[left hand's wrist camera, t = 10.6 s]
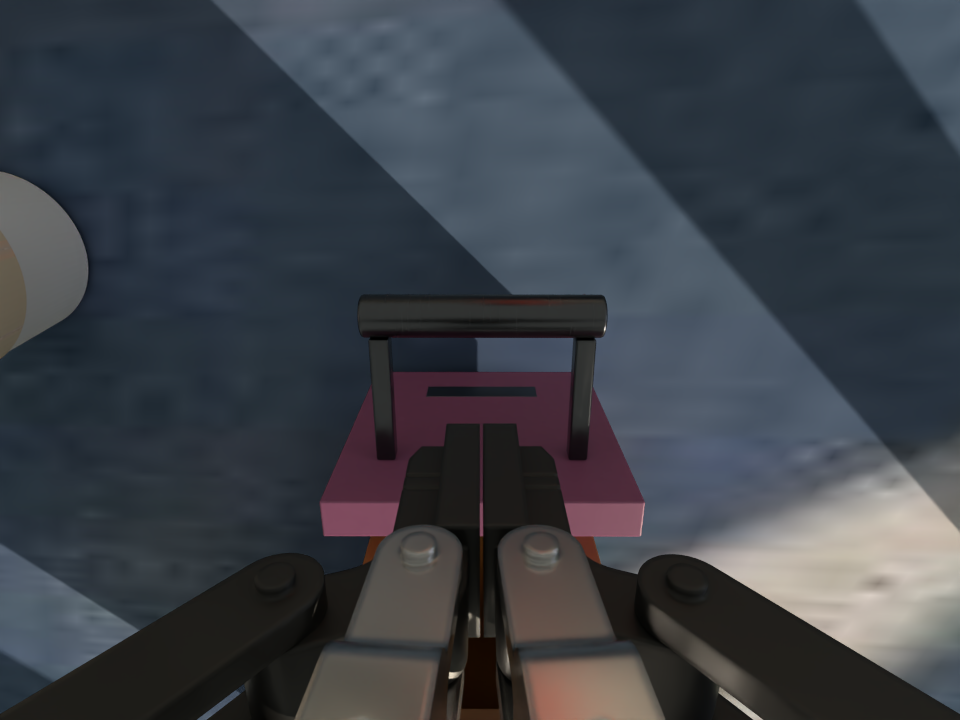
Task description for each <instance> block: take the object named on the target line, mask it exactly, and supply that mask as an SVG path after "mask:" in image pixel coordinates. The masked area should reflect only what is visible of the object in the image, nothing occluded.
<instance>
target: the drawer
mask: <svg viewBox="0 0 960 720" xmlns="http://www.w3.org/2000/svg"><path fill="white" fill-rule="evenodd" d="M607 315H608V314H607V303H606V299H605V297H604V296H603V295H383V294H364V295H361V296H360V299H359V302H358V311H357V318H358V328H359V332H360V335H361V336H362V337H364V338H370V339H369V341H368V343H369V357H370V371H371V386H370V388H369V391H368V393H367V395H366V397H365V400H364V402H363V404H362V407H361V409H360V411H359V413H358V416H357V418H356V420H355V422H354V425H353V427H352V429H351V432H350V434H349V436H348V438H347V441H346V443H345V445H344V448H343V450H342V452H341V454H340V457H339V459H338V461H337V463H336V466H335V468H334V470H333V473H332V475H331V477H330V479H329V482H328V484H327V486H326V489H325V491H324V493H323V495H322V498H321V500H320V511H321V519H322V528H323V535H324V536H370V539H369V543H368V547H367V550H366V554H365V558H364V561H363V564H365V563H367V562H369V561H371V560H373V557H374V555H375V552H376V549H377V547H378V545H379V544H380V542H381V541H382V540H383V539H384V538H385V537H386V536H388V535H389V534H391V533H392V532H393V529H394V525H395V520H396V515H397V511H398V506H399V502H400V497H401V493H402V490H403V484H404V479H405V477H406V470H407V465H408V461H409V458H410V457H411V456H412V455H413V454H414V453H415V452H416V451H417V450H418V449H419V448H420V447H421V446H444V441H445V432H446V424H447V423H480V638H468V658H467V663H466V666H465V668H464V686H463V695H462V704H461V709H499V704H498V695H497V686H496V637H484V603H483V423H516V424H517V432H518V440H519V446H542V447H543V448H544V449H545V450H546V451H547V452H548V453H549V454H550V455H551V456H552V457H553V458H554V461H555V465H556V469H557V474H558V478H559V482H560V489H561V491H562V495H563V500H564V504H565V508H566V513H567V517H568V522H569V526H570V530H571V535H572V536H574V537H575V538H576V539H577V540H578V541H579V542H580V544H581V545H582V547H583V549H584V552H585V555H586V556H587V557H589V558H590V559H592V560H593V561H595V562H597V563H599V564H601V562H600V559H599V555H598V552H597V548H596V545H595V541H594V538H593V536H641V531H642V523H643V514H644V506H645V502H644V499H643V497H642V495H641V493H640V490H639V488H638V486H637V484H636V482H635V479H634V477H633V475H632V473H631V470H630V468H629V466H628V464H627V462H626V459H625V457H624V455H623V453H622V450H621V448H620V446H619V444H618V442H617V439H616V437H615V435H614V433H613V430H612V428H611V426H610V424H609V422H608V419H607V417H606V415H605V413H604V411H603V408H602V406H601V404H600V402H599V399H598V397H597V395H596V393H595V391H594V388H593V377H594V364H595V351H596V340H595V338H601V337H603V336H604V334H605V332H606V327H607ZM391 338H573V354H572V369H571V372H393V362H392V344H391Z"/></svg>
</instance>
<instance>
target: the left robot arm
mask: <svg viewBox="0 0 960 720" xmlns="http://www.w3.org/2000/svg"><path fill="white" fill-rule="evenodd" d="M483 603H484V637H496V686H497V695H498V704H499V713H500V720H753V719H751V718H750V717H749V716H748V715H746V714H745V713H744V712H742V711H741V710H740V709H738V708H737V707H736V706H735V705H733V704H732V703H731V702H729V701H728V700H727V699H725V698H724V697H723V696H722V695H720V694H719V693H718V692H719V687H721V688H722V689H724V690H725V691H726V692H728V693H729V694H730V695H732V696H733V697H734V698H736V699H737V700H738V701H740V702H741V703H742V704H743V705H745V706H746V707H747V708H749V709H750V710H751V711H753V712H754V713H755V714H757V715H758V716H759V717H761V718H762V719H763V720H960V714H959V713H957V712H955V711H954V710H952V709H950V708H949V707H947V706H945V705H944V704H942V703H940V702H939V701H937V700H935V699H934V698H932V697H930V696H929V695H927V694H925V693H924V692H922V691H920V690H919V689H917V688H915V687H914V686H912V685H910V684H909V683H907V682H905V681H904V680H902V679H900V678H899V677H897V676H895V675H894V674H892V673H890V672H889V671H887V670H885V669H884V668H882V667H880V666H879V665H877V664H875V663H874V662H872V661H870V660H869V659H867V658H865V657H864V656H862V655H860V654H859V653H857V652H855V651H854V650H852V649H850V648H849V647H847V646H845V645H844V644H842V643H840V642H838V641H837V640H835V639H833V638H832V637H830V636H828V635H827V634H825V633H823V632H822V631H820V630H818V629H817V628H815V627H813V626H812V625H810V624H808V623H807V622H805V621H803V620H802V619H800V618H798V617H797V616H795V615H793V614H792V613H790V612H788V611H787V610H785V609H783V608H782V607H780V606H778V605H777V604H775V603H773V602H772V601H770V600H768V599H767V598H765V597H763V596H762V595H760V594H758V593H757V592H755V591H753V590H752V589H750V588H748V587H747V586H745V585H743V584H742V583H740V582H738V581H737V580H735V579H733V578H732V577H730V576H728V575H727V574H725V573H723V572H722V571H720V570H718V569H717V568H715V567H713V566H712V565H710V564H708V563H706V562H704V561H701V560H699V559H696V558H693V557H689V556H684V555H675V554H668V555H660V556H656V557H653V558H651V559H649V560H648V561H646V562H645V563H644V564H643V565H642V566H641V568H640V570H639V572H638V574H634V573H630V572H625V571H621V570H617V569H613V568H610V567H607V566H604V565H602V564H599V563H597V562H595V561H593V560H592V559H590V558H589V557H587V556H586V555H585V552H584V549H583V547H582V545H581V544H580V542H579V541H578V540H577V539H576V538H575V537H574V536H572V535H571V530H570V526H569V522H568V517H567V513H566V508H565V504H564V500H563V495H562V491H561V489H560V482H559V478H558V474H557V469H556V465H555V461H554V458H553V457H552V456H551V455H550V454H549V453H548V452H547V451H546V450H545V449H544V448H543V447H542V446H519V440H518V432H517V424H516V423H483ZM468 638H480V423H447V424H446V432H445V441H444V446H421V447H420V448H419V449H418V450H417V451H416V452H415V453H414V454H413V455H412V456H411V457H410V458H409V461H408V465H407V470H406V477H405V479H404V484H403V490H402V493H401V497H400V502H399V506H398V511H397V515H396V520H395V525H394V529H393V532H392V533H391V534H389V535H388V536H386V537H385V538H384V539H383V540H382V541H381V542H380V544H379V545H378V547H377V549H376V552H375V555H374V557H373V560H371V561H369V562H367V563H365V564H363V565H361V566H358V567H355V568H352V569H348V570H344V571H340V572H336V573H331V574H327V575H324V571H323V568H322V566H321V565H320V564H319V562H317V561H316V560H315V559H313V558H311V557H310V556H306V555H303V554H298V553H283V554H277V555H272V556H269V557H265V558H263V559H260V560H258V561H256V562H254V563H252V564H250V565H248V566H247V567H245V568H243V569H242V570H240V571H238V572H237V573H235V574H233V575H232V576H230V577H228V578H227V579H225V580H223V581H222V582H220V583H218V584H217V585H215V586H213V587H212V588H210V589H208V590H207V591H205V592H203V593H202V594H200V595H198V596H197V597H195V598H193V599H192V600H190V601H188V602H187V603H185V604H183V605H182V606H180V607H178V608H177V609H175V610H173V611H172V612H170V613H168V614H167V615H165V616H163V617H162V618H160V619H158V620H157V621H155V622H153V623H152V624H150V625H148V626H147V627H145V628H143V629H142V630H140V631H138V632H137V633H135V634H133V635H132V636H130V637H128V638H127V639H125V640H123V641H122V642H120V643H118V644H117V645H115V646H113V647H112V648H110V649H108V650H106V651H105V652H103V653H101V654H100V655H98V656H96V657H95V658H93V659H91V660H90V661H88V662H86V663H85V664H83V665H81V666H80V667H78V668H76V669H75V670H73V671H71V672H70V673H68V674H66V675H65V676H63V677H61V678H60V679H58V680H56V681H55V682H53V683H51V684H50V685H48V686H46V687H45V688H43V689H41V690H40V691H38V692H36V693H35V694H33V695H31V696H30V697H28V698H26V699H25V700H23V701H21V702H20V703H18V704H16V705H15V706H13V707H11V708H10V709H8V710H6V711H5V712H3V713H1V714H0V720H197V719H198V718H199V717H201V716H202V715H203V714H205V713H206V712H207V711H209V710H210V709H211V708H213V707H214V706H215V705H217V704H218V703H219V702H220V701H222V700H223V699H224V698H226V697H227V696H228V695H230V694H231V693H232V692H234V691H235V690H236V689H238V688H239V687H240V686H242V685H243V684H244V685H245V691H244V692H242V693H241V694H240V695H238V696H237V697H236V698H235V699H233V700H232V701H231V702H229V703H228V704H227V705H225V706H224V707H223V708H222V709H220V710H219V711H218V712H216V713H215V714H214V715H212V716H211V717H210V718H209V719H207V720H460V713H461V704H462V695H463V686H464V668H465V666H466V663H467V658H468Z"/></svg>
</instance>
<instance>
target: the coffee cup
mask: <svg viewBox="0 0 960 720" xmlns="http://www.w3.org/2000/svg"><path fill="white" fill-rule="evenodd" d="M87 282H88V259H87V254H86V250H85V247H84V244H83V241H82V238H81V236H80V234H79V232H78V230H77V228H76V227H75V225H74V223H73V222H72V220H71V219H70V217H69V216H68V215H67V213H66V212H65V211H64V210H63V209H62V207H61V206H60V205H59V204H58V203H57V202H56V201H55V200H54V199H52V198H51V197H50V196H49V195H48V194H46V193H45V192H44V191H42V190H41V189H40V188H38V187H37V186H35V185H33V184H32V183H30V182H28V181H26V180H24V179H22V178H19V177H17V176H14V175H11V174H8V173H5V172H0V359H1V358H2V357H3V356H5V355H6V354H7V353H8V352H9V351H11V350H12V349H14V348H16V347H17V346H19V345H21V344H23V343H24V342H26V341H28V340H29V339H31V338H33V337H35V336H36V335H38V334H40V333H41V332H43V331H45V330H46V329H48V328H50V327H52V326H53V325H55V324H57V323H58V322H60V321H62V320H63V319H65V318H66V317H68V316H69V315H70V314H71V313H72V312H73V311H74V310H75V309H76V307H77V306H78V305H79V303H80V301H81V300H82V298H83V296H84V293H85V290H86V287H87Z"/></svg>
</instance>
